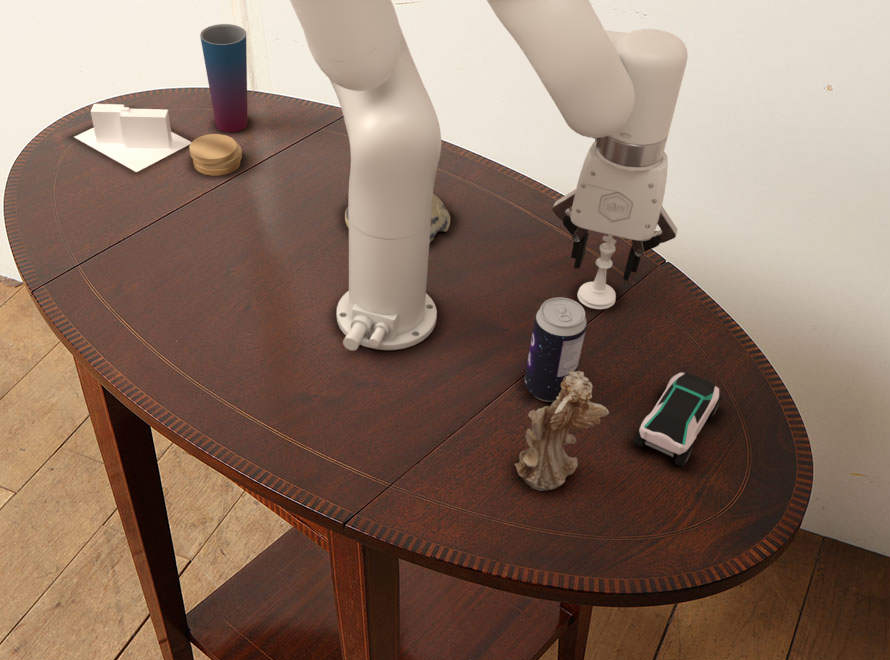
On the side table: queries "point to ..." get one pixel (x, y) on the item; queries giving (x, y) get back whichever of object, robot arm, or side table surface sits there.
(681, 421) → the toy car
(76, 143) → the side table surface
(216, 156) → the chip pile
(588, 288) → the chess piece
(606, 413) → the figurine
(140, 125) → the napkin holder
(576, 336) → the beverage can
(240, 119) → the cup
